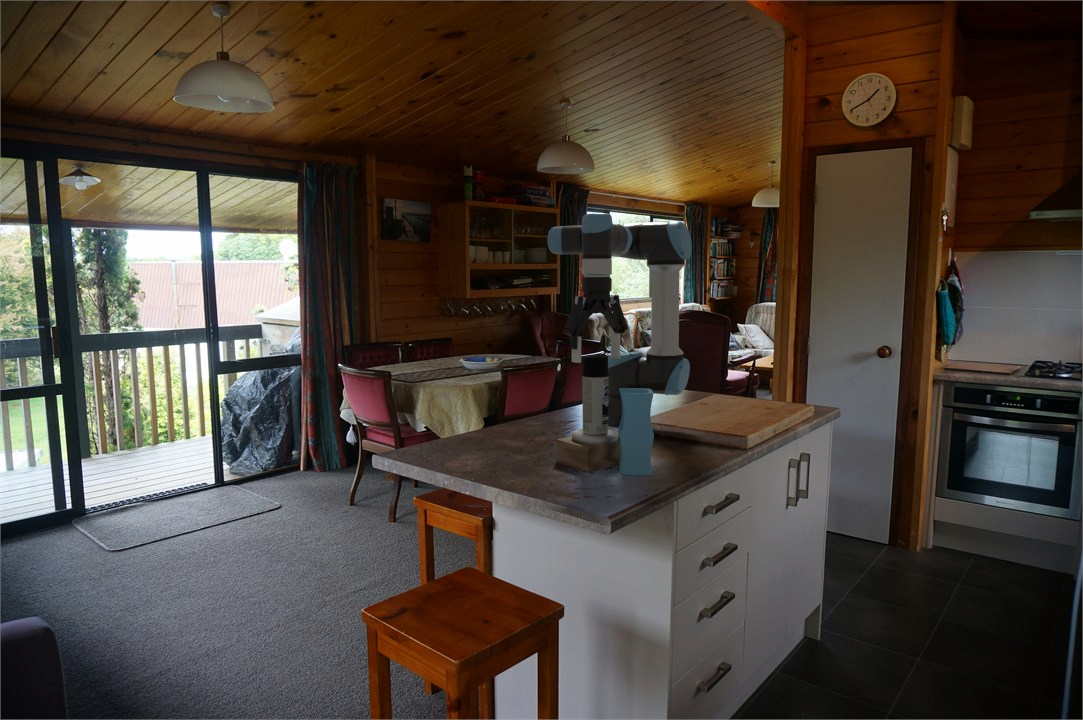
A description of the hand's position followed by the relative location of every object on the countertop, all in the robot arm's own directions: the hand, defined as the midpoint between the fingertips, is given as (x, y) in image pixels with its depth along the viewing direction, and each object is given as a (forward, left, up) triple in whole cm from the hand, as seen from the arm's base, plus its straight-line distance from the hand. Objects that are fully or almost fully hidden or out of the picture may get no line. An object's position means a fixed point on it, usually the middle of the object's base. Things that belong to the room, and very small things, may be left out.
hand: (596, 360), depth 179 cm
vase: (-2, +13, -27) cm, 29 cm away
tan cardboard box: (0, 0, -26) cm, 26 cm away
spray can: (0, 0, -19) cm, 19 cm away
